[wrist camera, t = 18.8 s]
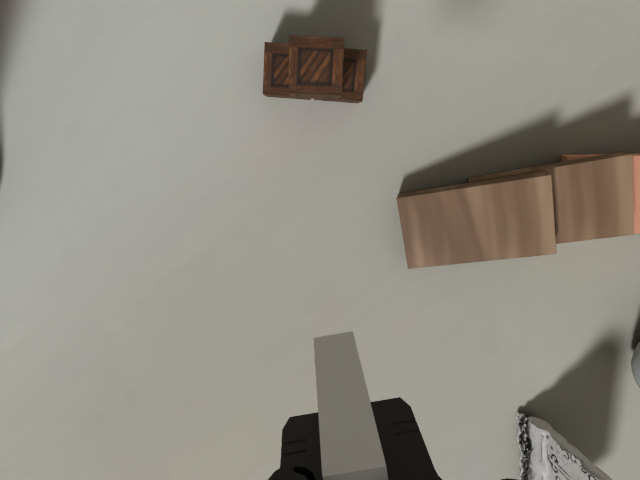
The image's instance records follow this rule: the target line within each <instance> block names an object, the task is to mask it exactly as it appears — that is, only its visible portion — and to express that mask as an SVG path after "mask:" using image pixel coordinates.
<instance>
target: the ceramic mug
mask: <svg viewBox="0 0 640 480" xmlns="http://www.w3.org/2000/svg"><path fill="white" fill-rule="evenodd" d="M631 367H632V373H633V376H634V378H635V381H636V382H637V384H638V385H639V387H640V342H639V343H638V344H637V346H636V348H635V350H634V353H633V357H632V360H631Z"/></svg>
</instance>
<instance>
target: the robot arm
mask: <svg viewBox="0 0 640 480" xmlns="http://www.w3.org/2000/svg"><path fill="white" fill-rule="evenodd" d="M314 351H315V367H316V383H317V399H318V413H312V414H306V415H300V416H294V417H290V418H289V419H288V421H287V423H286V425H285V426H284V428H283V430H282V447H281V465H280V469H278V470H277V471H275V472H274V473H273V474H272V476H271V477H270V478H269V479H268V480H442V479H441V478H440V477H439V476H438V474H437V473H436V471H435V469H434V466H433V464H432V461H431V459H430V456H429V453H428V451H427V448H426V446H425V443H424V440H423V438H422V435H421V433H420V431H419V427H418V425H417V422H416V420H415V417H414V414H413V412H412V409H411V407H410V406H409V405H408V404H407V403H406V402H405V401H403V400H402V399H401V398H400V397H399V398H393V399H387V400H381V401H376V402H370V399H369V395H368V391H367V387H366V383H365V379H364V375H363V371H362V367H361V363H360V359H359V355H358V351H357V347H356V343H355V339H354V335H353V331H352V332H346V333H340V334H334V335H328V336H323V337H317V338H314ZM502 480H515V479H502Z"/></svg>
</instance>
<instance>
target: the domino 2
mask: <svg viewBox="0 0 640 480" xmlns="http://www.w3.org/2000/svg"><path fill="white" fill-rule="evenodd" d="M542 171H546V172H548V173H549V174H550V175H551V179H552V194H553V210H554V225H555V241H556V244H557V243H566V242H574V241H582V240H591V239H599V238H607V237H616V236H624V235H632V234H634V208H633V176H632V154H629V153H626V152H622V151H621V152H615V153H609V154H603V155H598V156H592V157H586V158H580V159H574V160H569V161H563V162H557V163H551V164H545V165H540V166H534V167H528V168H522V169H516V170H511V171H505V172H499V173H493V174H487V175H482V176H476V177H470V178H468V183H471V182H477V181H483V180H490V179H496V178H503V177H509V176H516V175H522V174H529V173H535V172H542Z"/></svg>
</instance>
